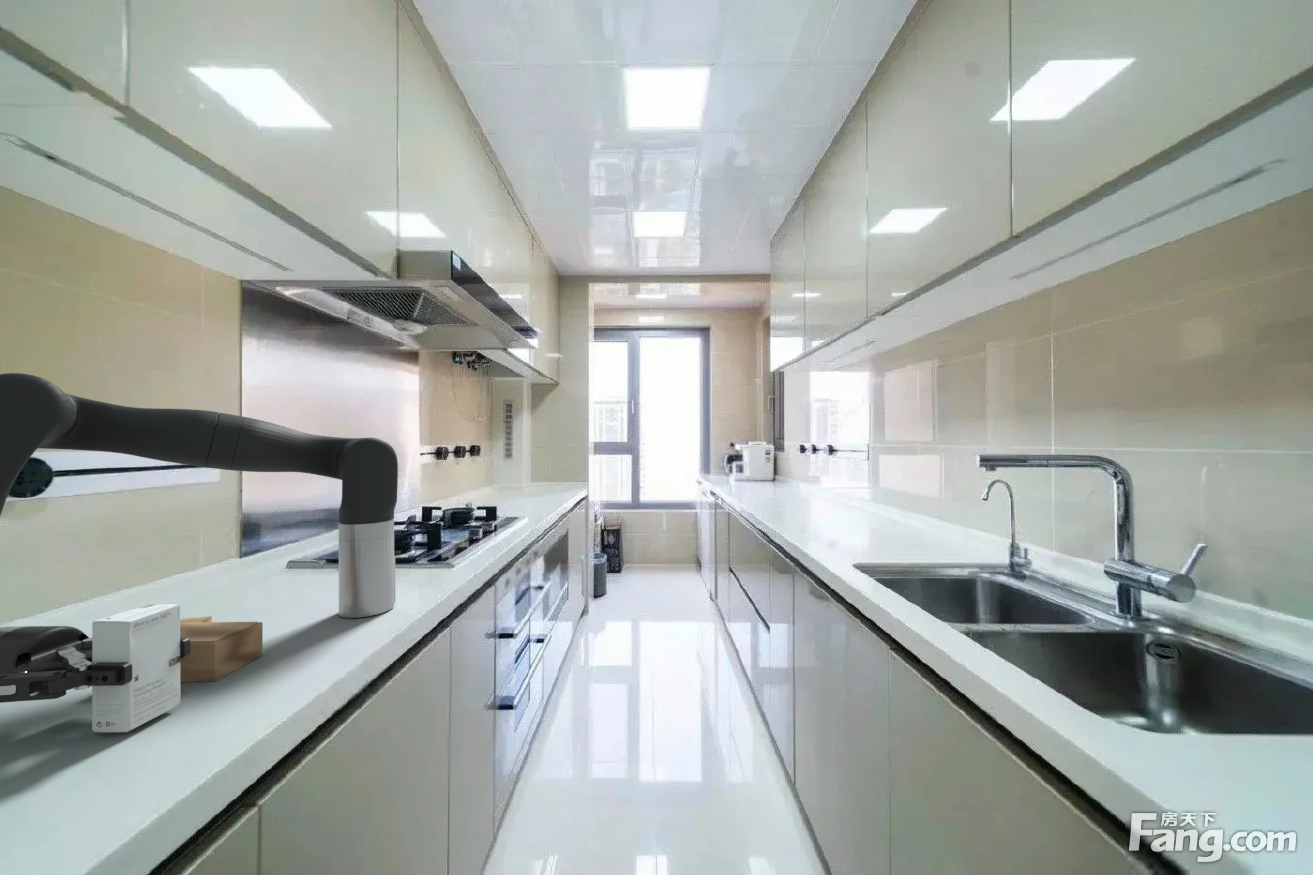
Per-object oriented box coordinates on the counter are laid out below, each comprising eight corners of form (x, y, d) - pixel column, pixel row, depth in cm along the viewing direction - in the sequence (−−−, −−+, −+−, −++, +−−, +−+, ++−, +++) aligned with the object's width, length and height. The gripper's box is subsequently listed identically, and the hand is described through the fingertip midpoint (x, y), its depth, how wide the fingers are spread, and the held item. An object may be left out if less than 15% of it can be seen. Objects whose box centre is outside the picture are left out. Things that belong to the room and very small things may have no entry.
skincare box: (129, 733, 53) (129, 621, 53) (88, 733, 53) (88, 622, 53) (184, 702, 59) (184, 602, 59) (147, 703, 59) (146, 603, 59)
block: (182, 642, 79) (182, 618, 79) (211, 640, 80) (211, 615, 80) (164, 653, 76) (164, 627, 76) (195, 650, 76) (195, 624, 77)
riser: (183, 656, 74) (183, 621, 74) (262, 655, 74) (262, 620, 74) (126, 682, 66) (126, 642, 66) (214, 681, 66) (214, 642, 66)
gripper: (-80, 656, 49) (87, 654, 49) (87, 607, 63) (216, 606, 63) (-80, 731, 49) (87, 729, 49) (87, 665, 63) (216, 664, 63)
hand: (159, 660), depth 56 cm, fingers closed on skincare box, 6 cm apart
